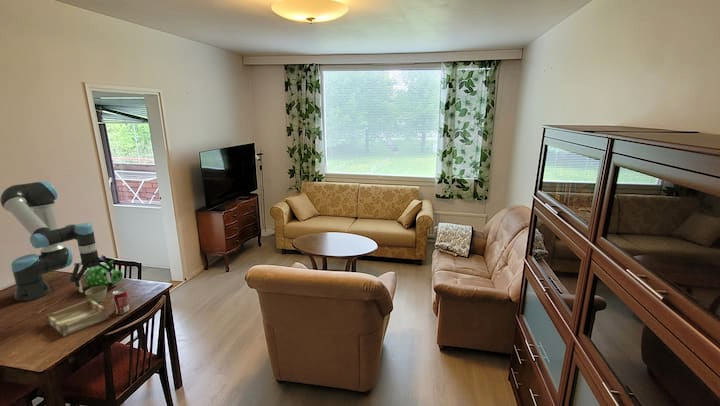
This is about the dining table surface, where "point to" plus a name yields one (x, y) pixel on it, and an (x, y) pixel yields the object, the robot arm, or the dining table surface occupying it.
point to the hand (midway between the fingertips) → (95, 286)
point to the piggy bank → (101, 276)
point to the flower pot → (96, 293)
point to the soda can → (120, 301)
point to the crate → (77, 317)
